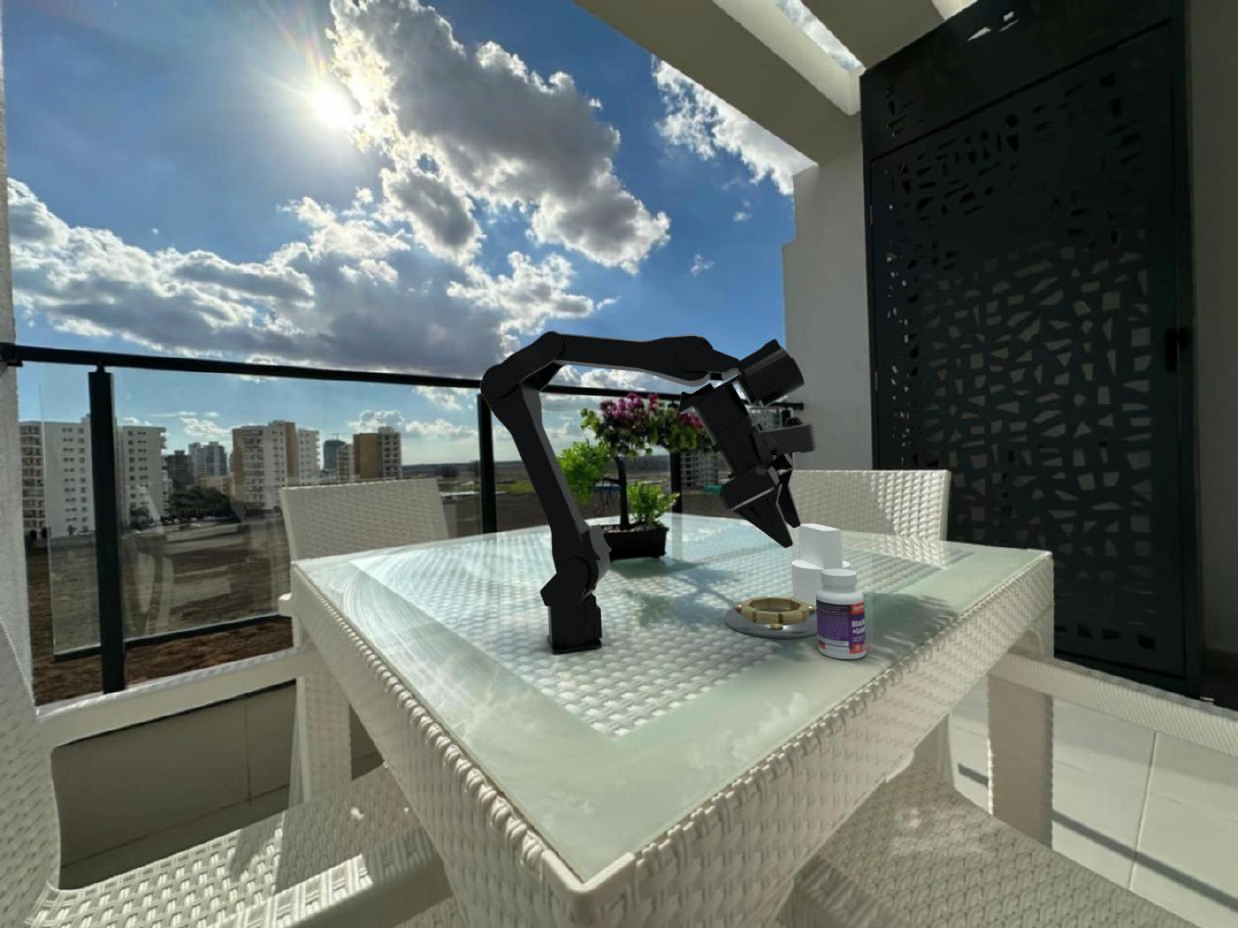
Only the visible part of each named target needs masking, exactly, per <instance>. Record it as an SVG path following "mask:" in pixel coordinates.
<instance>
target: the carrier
mask: <svg viewBox="0 0 1238 928" xmlns="http://www.w3.org/2000/svg"><path fill="white" fill-rule="evenodd" d="M725 622H726V625H727V626H728V628H730V629H731V630H733V631H734V632H738V633H739V634H743V635H747V636H751V637H755V638H756V637H758V638H763V639H764V638H765V639H774V640H775V639H777V640H780V639H781V640H789V639H794V640H795V639H801V638H802V639H803V638H808V637H812V636H818V635H817V613H816V606H814V605H808V604H807V603H805V602H803V601H800V600H798V599H793V597H785V596H775V595H774V596H773V595H771V596H770V597H769V596H768V595H766V596H759V597H751V598H749V599H746V600H744V601H743V603H741V602H740V603H739V602H737V603H734V607H731V608H729V609H728V610H727V611H726V612H725Z"/></svg>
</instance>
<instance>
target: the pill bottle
mask: <svg viewBox="0 0 1238 928" xmlns="http://www.w3.org/2000/svg"><path fill="white" fill-rule="evenodd" d="M857 577H858V576H857V572H856V571H854V570H846V569H826V570H822V571H821V583H822V584H823V587H821V588H819V589H818V590H817V592H816V613H817V635H816V636H817V646H818V650H819V652H820V653H821V654H822V655H825V656H826V657H829V658H833V659H838V660H839V659H841V660H856V659H860V658H863V657H865V656H866V654H867V638H866V637H867V635H866V616H865V615H866V614H865V597H864V594H863V592H862V591H860V590H859V589H858V588H856V586H857V585H858V579H857Z"/></svg>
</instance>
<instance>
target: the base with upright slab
mask: <svg viewBox="0 0 1238 928" xmlns="http://www.w3.org/2000/svg"><path fill="white" fill-rule="evenodd" d="M797 529H798V547H799V559H796V560H793V561H792V562H791V574H792V575H791V578H792V594H793V595H792V596H793V597H792V599H798V600H800V601H803V602H805V603H807V604H808V605H814V606H816V592H817V590H818V589H819V588H821V587H823V584H822V583H821V571H822V570H826V569H846V570H851V563H850V562H848V561H845V560H843V545H842V529H839V528H835V527H831V526H827V525H822V524H819V523H801V525H800V526H799V527H797Z"/></svg>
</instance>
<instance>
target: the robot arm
mask: <svg viewBox="0 0 1238 928" xmlns="http://www.w3.org/2000/svg"><path fill="white" fill-rule="evenodd" d="M567 365H568V366H576V367H587V368H596V369H597V368H598V369H605V370H614V371H626V372H635V373H644V374H647V375H651V376H654V377H656V378H657V377H658V378H660V379H662V380H665V381H669V382H672V383H675V384H679V385H683V386H686V387H690V388H697V387H700V388H699V389H697V390H695V391H693V392H692V393H689V392H686V391H681V392H680V402H679V405H678V407H677V412H679V413H680V414H681V415H685V414H687V413H688V412H690V411H692V410H694V412H695V414H696V415H697V417H698V418H699V421H700V422H701V424H702V425H703V427H704V429H705V431H706V432H707V434H708V436H709V438H710V440H711V441H712V443H713V445H712V446H710V448H711V450H712V452H713V454H714V455H716V454H717V453H719V456H720V457H721V459H722V460H723V463H724V464H725V466H726V468H727V470H728V471H729V472H730V473H729V474H728V475H727V478H728V479H727V480H726V481H725V482H724V483H722V484H721V487H720V490H719V495H718V496H719V500H720V501H721V502H722V504H723V506H724V507H725V509H726V510H727V511H728V510H730V509H731V511H732V512H733V514H737V515H738V516H740V517H741V518H743V519H744V520H746V521H747V522H748V523H750V524H751V525H753V526H754V527H755V528H757V529H758V530H759V531H761V532H763V533H764V534H765V535H766V536H768V537H769V538H770V539H772V540H773V541H775V542H776V543H777V544H779V546H782V547H783V548H784V549H788V548H790V547H793V545H794V541H793V538H792V535H791V533H790V530H789V527H788V525H789V526H790V527H791V528H792V529H796V528H797V529H798V527H799V526H800V525H801V524H802V523H801V519H800V516H799V513H798V510H797V507H796V503H795V500H794V497H793V493H792V490H791V487H790V482H791V479H792V475H793V473H794V470H795V469H794V468H795V467H794V466H793V465H794V461H793V459H792V457H791V456H790V454H793V453H799V452H800V453H801V454H805V453H811V452H814V451H816V449H817V443H816V436H815V430H814V425H813V422H809V421H808V422H806V423H805V422H804V421H803V420H802V419H801V417H800V416H792V417H787V418H785V420H784V423H783V426H782V427H781V426H780V427H777V428H771V429H766V428H765V426H764V425H763V423H762V422H759V421H755V419H754V418H753V417H752V415H751V413H750V412H749V410H748V408H747V407H746V405H745V403H744V401H743V400H742V398H741V395H739V393H738V391H737V389H736V387H735V385H738V387H739V389H740V390H741V392H742V394H743V396H744V398H745V399H746V400H747V402H748V403H749V405H750V406H754V405H757V404H759V406H761V408H762V409H764V408H767V407H768V406H770V405H771V404H774V403H775V402H777V401H778V400H781V399H783V398H784V397H786V396H788V395H789V394H791V393H793V392H795V391H796V390H799V389H801V388H802V387H804V386H805V379H804V377H803V373H802V371H801V369H800V367H799V366H798V364H797V361H796V360H795V359H794V358H793V356H790V354H789V353H788V352H787V351H786V350H785V348H783V346H781V345H780V344H779V341H778V340H777V339H776V338H773V339H771V340H770V341H767V342H766V343H765V344H764V345H763V346H761V347H760V348H759V349H758V350H756V351H754V352H752V353H751V354H749V355H747V356H746V357H744V358H742V359H739V358H737V357H734V356H732V355H730V354H727V353H724V352H721V351H718V350H716V349H714V347H713V345H712V344H711V343H710V342H709V340H707V338H705V337H704V336H702V335H698V334H682V335H670V336H664V337H659V338H655V339H648V340H637V339H627V338H616V337H605V336H597V335H596V336H593V335H582V334H573V333H572V334H570V333H562V332H559V331H556V330H549V331H546V332H544V333H543V334H542V335H540V336H539V337H538V338H537V339H536V340H534V342H532V343H530V344H528V345H527V346H525V347H522V349H519V350H517V351H515V352H514V353H512V354H510V355H509V356H508V357H507V358H506V359H504V360H503V361H502V362H501V363H497V364H495V365H494V364H493V365H492V366H490V367H488V368H487V369H486V371H485V372H484V374H482V378H481V381H480V383H479V390H480V394H481V396H482V398H483V400H484V401H485V403H486V404H487V405H488V407H489V409H490V411H491V413H492V414H493V415H494V417H496V419H497V420H498V421H499V422H500V423H501V425H502V426H504V428H505V429H506V430H507V431H508V433H509V434H510V436H511V438H512V440H513V443H514V445H515V448H516V449H517V452H518V454H519V456H520V459H521V462H522V464H523V466H524V469H525V471H526V474H527V476H528V478H529V481H530V483H531V486H532V488H533V491H534V493H535V495H536V498H537V500H538V503H539V504H540V507H541V510H542V513H543V515H544V518H545V520H546V522H547V524H548V527H549V530H550V539H551V543H550V544H551V556H552V561H553V564H554V569H555V574H554V575H553V576H552V577H551V578H550V579H549V580H548V581H547V583H546V584H545V585H544V586H542V588H541V589H540V590H539V594H540V598H541V599H542V603H543V604H544V606H545V607H547V620H548V623H547V624H548V634H547V635H546V638H547V639H546V640H547V642H548V644H549V647H550V650H551V652H552V653H553V654H554V655H555V654H563V653H569V652H576V651H582V650H589V649H595V648H596V649H597V648H601V647H602V646H603V645H602V641H601V639H602V638H603V625H602V608H601V607H600V606H599V605H598V603H597V597H596V595H594V594H593V592H594V591H595V590H596V589H597V586H598V583H599V582H600V581H601V580H602V579H603V578H604V577H605V575H607V573H608V571H609V568H610V565H611V560H610V554H609V553H610V552H611V551H612V548H611V547H610V546H609V545H608V543H607V541H606V540H605V536H604V533H603V529H602V526H601V524H600V523H599V524H596V525H594V526H592V527H591V526H590V525H589V524H588V523H587V522H586V521H585V519H584V518H583V517H582V514H581V513H580V511H579V508H578V506H577V503H576V501H575V499H574V496H573V494H572V492H571V489H570V486H569V485H568V482H567V479H566V477H565V475H564V473H563V470H562V468H561V465H560V464H559V461H558V458H557V455H556V454H555V451H554V449H553V447H552V444H551V442H550V440H549V437H548V435H547V432H546V430H545V428H544V425H543V409H542V408H543V407H542V405H543V404H542V401H541V396H540V392H541V391H542V390H543V389H545V388H546V387H547V386H548V385H549V384H550V382H551V381H553V380H554V378H555V377H556V376H557V374H558V372H559V371H560V370H562V368H564V367H565V366H567ZM709 381H712V382H713V381H715V382H716V381H718V382H723V383H721V384H719V385H718V386H715V387H714V386H713V384H712V383H711V382H709ZM707 382H708V383H707ZM792 466H793V467H792ZM790 467H791V468H790ZM785 468H788V469H787V470H785V471H784V470H783V469H785Z"/></svg>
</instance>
